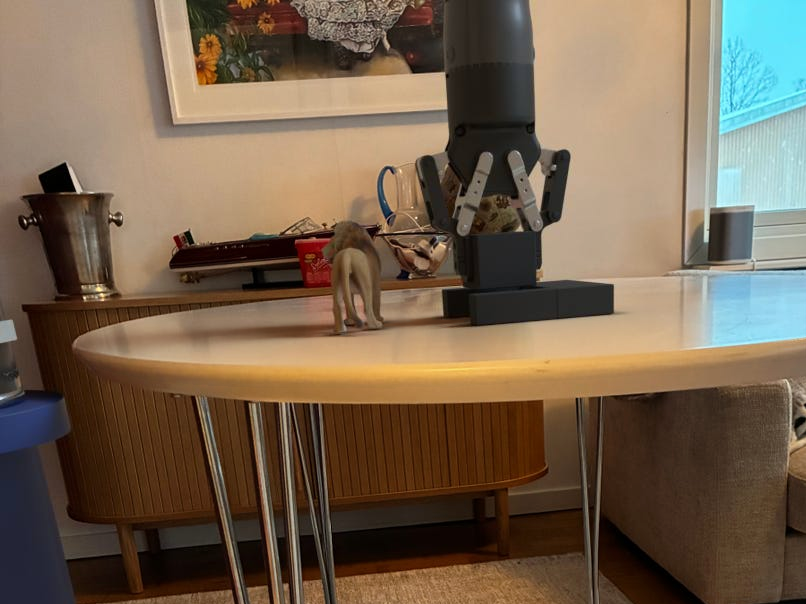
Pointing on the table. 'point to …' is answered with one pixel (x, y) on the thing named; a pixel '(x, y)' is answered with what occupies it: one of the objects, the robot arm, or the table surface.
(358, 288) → the lion figurine
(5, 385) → the robot arm
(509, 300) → the big pad
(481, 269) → the small black block
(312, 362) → the table surface
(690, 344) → the table surface
